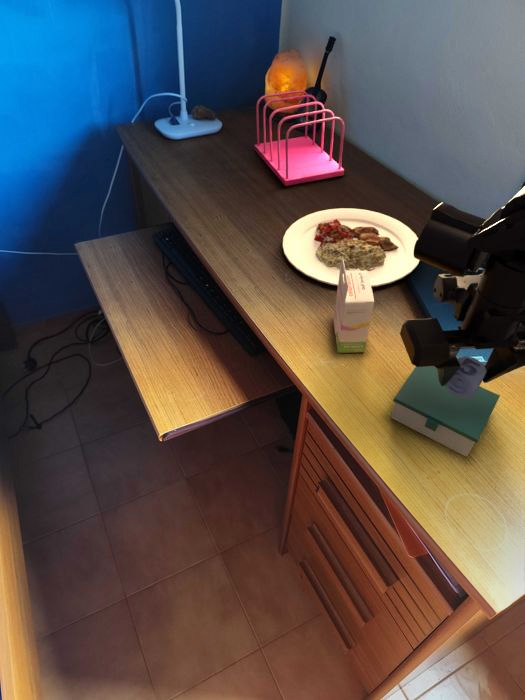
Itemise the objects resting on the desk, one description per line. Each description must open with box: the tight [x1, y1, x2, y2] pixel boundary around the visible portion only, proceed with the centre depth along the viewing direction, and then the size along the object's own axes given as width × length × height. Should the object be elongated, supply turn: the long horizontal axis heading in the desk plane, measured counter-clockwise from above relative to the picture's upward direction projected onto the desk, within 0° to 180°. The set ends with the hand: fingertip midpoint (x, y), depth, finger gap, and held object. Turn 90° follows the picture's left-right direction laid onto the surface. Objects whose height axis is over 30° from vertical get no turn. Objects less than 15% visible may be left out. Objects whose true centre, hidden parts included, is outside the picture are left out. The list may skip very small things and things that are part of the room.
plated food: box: [282, 207, 421, 288], centre depth 102 cm, size 30×30×3 cm
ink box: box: [333, 257, 375, 354], centre depth 79 cm, size 9×5×15 cm, turn 179°
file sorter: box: [254, 89, 345, 187], centre depth 128 cm, size 17×25×16 cm
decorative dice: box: [445, 355, 487, 398], centre depth 62 cm, size 4×4×4 cm
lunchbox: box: [390, 366, 501, 458], centre depth 70 cm, size 12×10×5 cm
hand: (462, 381), depth 62 cm, fingers closed on decorative dice, 5 cm apart
